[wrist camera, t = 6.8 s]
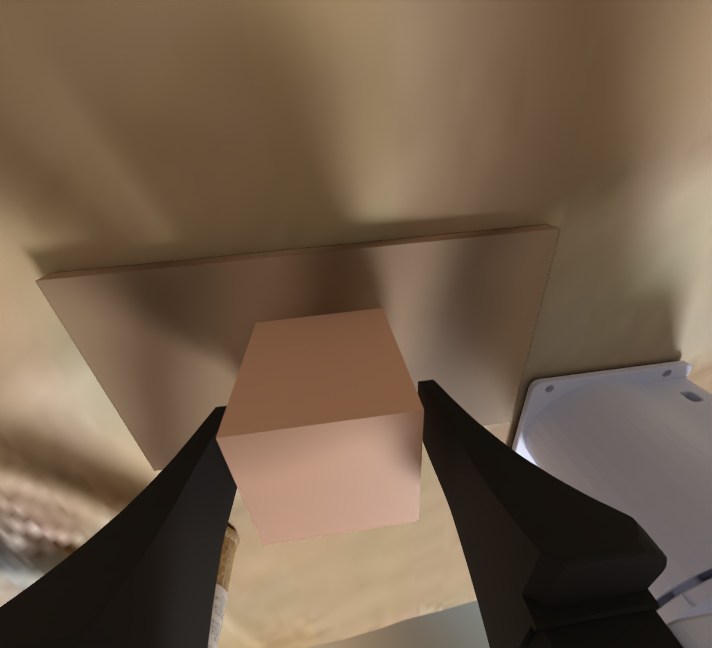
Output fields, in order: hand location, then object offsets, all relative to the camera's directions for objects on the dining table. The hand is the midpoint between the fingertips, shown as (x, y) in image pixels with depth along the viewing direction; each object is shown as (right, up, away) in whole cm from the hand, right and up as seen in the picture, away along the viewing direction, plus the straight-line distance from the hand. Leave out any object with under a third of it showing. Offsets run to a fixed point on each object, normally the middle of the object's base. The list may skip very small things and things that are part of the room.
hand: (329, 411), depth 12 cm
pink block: (0, +2, +2) cm, 3 cm away
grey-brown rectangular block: (0, +2, +3) cm, 4 cm away
